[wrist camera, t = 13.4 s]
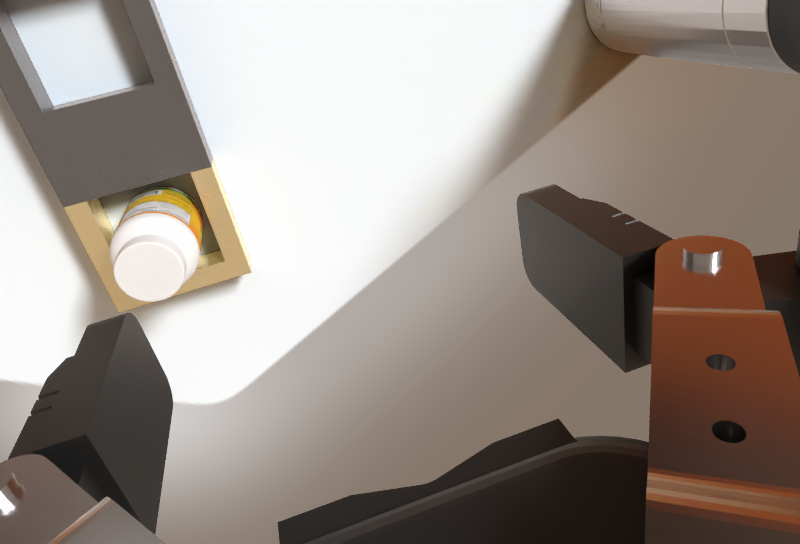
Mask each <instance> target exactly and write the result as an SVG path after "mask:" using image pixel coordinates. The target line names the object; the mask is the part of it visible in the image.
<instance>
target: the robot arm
mask: <svg viewBox="0 0 800 544" xmlns="http://www.w3.org/2000/svg"><path fill="white" fill-rule="evenodd" d="M585 9H586V16H587V19H588V22H589V25H590V28H591V29H592V31H593V33H594V34H595V36H596V38H598V39H599V40H600V41H601V42H602V43H603V44H604V45H605V46H607V47H609V48H611V49H612V50H616V51H620V52H626V53H634V54H642V55H649V56H655V57H664V58H672V59H680V60H688V61H696V62H704V63H712V64H720V65H729V66H737V67H744V68H753V69H762V70H771V71H779V72H787V73H795V74H800V0H585ZM517 211H518V221H519V230H520V237H521V247H522V255H523V263H524V267H525V271H526V274H527V276H528V278H529V280H530V282H531V284H532V285H533V287H534V288H535V289H536V290H537V291H538V292H539V293H541V294H542V295H543V296H544V297H545V298H546V299H547V300H548V301H549V302H550V303H551V304H552V305H553V306H555V307H556V308H557V309H558V310H559V311H560V312H561V313H562V314H563V315H564V316H565V317H566V318H567V319H568V320H570V322H572V323H573V324H574V325H575V326H576V327H577V328H578V329H579V330H580V331H581V332H582V333H583V334H584V335H585V336H587V337H588V338H589V339H590V340H591V341H592V342H593V343H594V344H595V345H596V346H597V347H598V348H599V349H600V350H602V351H603V352H604V353H605V354H606V355H607V356H608V357H609V358H610V359H611V360H612V361H613V362H614V363H615V364H617V365H618V366H619V367H620V368H621V369H622V370H623V371H624V372H625V373H626V372H629V371H631V370H634V369H637V368H640V367H643V366H645V365H648V364H651V385H650V415H649V442H646V441H641V440H637V439H630V438H623V437H612V436H589V437H588V436H586V437H576V438H573V436H572V435H571V434H570V433H569V431H568V430H567V429H566V427H565V426H564V425H563V424H562V422H561V421H560V420H559V419H556V420H553V421H551V422H548V423H546V424H543V425H540V426H537V427H535V428H532V429H529V430H526V431H524V432H521V433H518V434H516V435H513V436H511V437H508V438H505V439H502V440H499V441H497V442H494V443H492V444H491V445H489V446H488V447H486V448H484V449H483V450H481V451H480V452H478V453H477V454H475V455H474V456H472V457H470V458H469V459H467V460H466V461H464V462H463V463H461V464H459V465H458V466H456V467H455V468H453V469H452V470H450V471H448V472H447V473H445V474H444V475H442V476H441V477H439V478H438V479H436V480H434V481H432V482H430V483H427V484H423V485H417V486H410V487H404V488H397V489H391V490H384V491H377V492H371V493H364V494H357V495H351V496H348V497H345V498H342V499H340V500H337V501H334V502H332V503H329V504H326V505H323V506H321V507H318V508H315V509H313V510H310V511H308V512H305V513H302V514H299V515H297V516H294V517H291V518H288V519H286V520H283V521H280V522H278V529H279V541H280V544H800V231H799V238H798V246H797V251H790V252H783V253H775V254H767V255H760V256H753V255H752V253H751V251H750V250H749V249H748V248H747V247H746V246H745V245H743V244H741V243H739V242H737V241H734V240H732V239H728V238H724V237H718V236H709V235H695V236H685V237H680V238H677V239H672V238H670V237H668V236H667V235H665V234H663V233H661V232H659V231H657V230H655V229H653V228H651V227H649V226H648V225H646V224H644V223H642V222H640V221H637V222H636V219H635V218H633V217H631V216H629V215H627V214H623V213H622V212H621V211H620V210H618V209H616V208H614V207H612V206H610V205H608V204H606V203H602V202H598V201H593V200H588V199H580V198H578V197H576V196H575V195H573V194H571V193H569V192H567V191H565V190H564V189H562V188H560V187H558V186H557V185H550V186H546V187H543V188H540V189H536V190H533V191H530V192H527V193H524V194H520V195H519V197H518V199H517ZM38 397H39V400H37V401H36V403H35V404H34V407H33V409H32V411H31V416H29V417H28V419H27V421H26V423H25V425H24V427H23V429H22V431H21V433H20V435H19V437H18V439H17V442H16V444H15V446H14V448H13V450H12V452H11V454H10V456H9V458H8V460H6V461H3V462H1V463H0V544H165V543H164V542H163V541H162V540H160V539H159V538H158V537H157V536H156V535H155V531H156V524H157V517H158V510H159V503H160V496H161V488H162V481H163V474H164V467H165V460H166V453H167V446H168V438H169V430H170V424H171V416H172V409H173V399H172V393H171V389H170V385H169V382H168V380H167V377H166V375H165V373H164V371H163V369H162V367H161V365H160V363H159V361H158V359H157V357H156V355H155V353H154V351H153V349H152V347H151V345H150V343H149V341H148V339H147V337H146V335H145V333H144V332H143V330H142V328H141V326H140V324H139V322H138V320H137V319H136V318H135V316H134V315H132V314H131V313H127V314H123V315H120V316H117V317H114V318H110V319H107V320H104V321H100V322H97V323H94V324H91V325H89V326H87V328H86V330H85V333H84V335H83V337H82V339H81V342H80V344H79V346H78V348H77V351H76V353H75V355H74V356H72V357H69V358H66V359H65V360H64V361H63V362H62V363H61V365H60V366H59V367H58V368H57V369H56V370H55V371H54V372H53V373H52V374H51V375H50V376H49V377H48V378H47V380H46V382H45V384H44V386H43V388H42V390H41V392H40V394H39V396H38Z"/></svg>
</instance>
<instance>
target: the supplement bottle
mask: <svg viewBox="0 0 800 544" xmlns="http://www.w3.org/2000/svg"><path fill="white" fill-rule="evenodd" d="M202 232H203V218H202V214H201V211H200V209H199V207H198V205H197V204H196V202H195V201H194V200H193V199H192V198H191V197H190V196H188V195H187V194H185V193H184V192H182V191H180V190H178V189H175V188H171V187H153V188H149V189H146V190H144V191H142V192H140V193H139V194H137V195H136V196H135V197H134V198H133V199H132V200H131V202H130V203H129V205H128V207H127V209H126V211H125V213H124V215H123V217H122V219H121V221H120V223H119V225H118V227H117V229H116V231H115V233H114V235H113V238H112V240H111V244H110V260H111V263H112V266H113V268H114V271H113V272H114V277H115V280H116V283H117V284H118V286H119V287H120V288H121V290H122V291H123V292H125V293H126V294H127V295H129V296H130V297H132V298H134V299H137V300H140V301H145V302H156V301H161V300H164V299H167V298H169V297H171V296H172V295H174V294H175V293H176V292H177V291H178V290H179V289H180V287H181V286H182V285H183V284H184V283H186V282H187V281H188V280H189V279H190V278H191V276H192V275H193V274H194V272H195V270H196V268H197V266H198V262H199V257H200V249H201V241H202Z"/></svg>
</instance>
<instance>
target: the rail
mask: <svg viewBox="0 0 800 544" xmlns="http://www.w3.org/2000/svg"><path fill="white" fill-rule="evenodd" d="M122 2H123V4H124V7H125V9H126V12H127V14H128V17H129V19H130V22H131V24H132V27H133V29H134V32H135V35H136V37H137V40H138V42H139V45H140V47H141V50H142V52H143V55H144V57H145V60H146V62H147V65H148V67H149V70H150V72H151V75H152V77H153V80H154V81H153V82H149V83H145V84H141V85H137V86H133V87H129V88H125V89H121V90H117V91H113V92H109V93H105V94H101V95H97V96H93V97H89V98H85V99H81V100H77V101H73V102H69V103H65V104H61V105H57V106H53V105H52V103H51V101H50V99H49V97H48V95H47V92H46V90H45V88H44V86H43V84H42V82H41V80H40V78H39V76H38V74H37V72H36V70H35V68H34V66H33V64H32V62H31V60H30V58H29V56H28V53H27V51H26V49H25V47H24V45H23V43H22V41H21V39H20V37H19V35H18V33H17V31H16V29H15V27H14V25H13V23H12V21H11V19H10V16H9V14H8V12H7V10H6V8H5V6H4V4H3V2H2V0H0V86H1V88H2V90H3V92H4V94H5V96H6V98H7V100H8V102H9V104H10V106H11V108H12V109H13V111H14V113H15V115H16V117H17V119H18V121H19V123H20V125H21V127H22V129H23V131H24V132H25V134H26V136H27V138H28V140H29V142H30V144H31V146H32V148H33V150H34V152H35V154H36V155H37V157H38V159H39V161H40V163H41V165H42V167H43V169H44V171H45V173H46V175H47V177H48V178H49V180H50V182H51V184H52V186H53V188H54V190H55V192H56V194H57V196H58V198H59V200H60V201H61V203H62V205H63V207H64V209H65V211H66V213H67V215H68V217H69V219H70V221H71V223H72V224H73V226H74V228H75V230H76V232H77V234H78V236H79V238H80V240H81V242H82V244H83V246H84V247H85V249H86V251H87V253H88V255H89V257H90V259H91V261H92V263H93V265H94V267H95V269H96V270H97V272H98V274H99V276H100V278H101V280H102V282H103V284H104V286H105V288H106V290H107V292H108V294H109V295H110V297H111V299H112V301H113V303H114V305H115V307H116V309H117V311H118V313H119V312H123V311H126V310H129V309H133V308H136V307H139V306H142V305H146V304H149V303H152V302H145V301H140V300H137V299H134V298H132V297H130V296H129V295H127V294H126V293H125V292H123V291H122V290H121V288H120V287H119V286H118V284H117V283H116V280H115V277H114V272H113V271H114V268H113V266H112V263H111V260H110V244H111V240H112V238H113V235H114V233H115V232H114V230H113V228H112V226H111V224H110V222H109V220H108V218H107V216H106V214H105V212H104V210H103V207H102V205H101V203H100V201H99V199H98V198H100V197H104V196H108V195H111V194H115V193H118V192H122V191H126V190H129V189H133V188H137V187H140V186H144V185H148V184H151V183H155V182H159V181H162V180H166V179H169V178H173V177H177V176H180V175H184V174H188V173H191V176H192V178H193V181H194V183H195V186H196V189H197V191H198V194H199V196H200V199H201V201H202V204H203V206H204V209H205V211H206V214H207V216H208V219H209V221H210V224H211V226H212V229H213V231H214V234H215V236H216V239H217V242H218V244H219V247H220V249H221V250H219V251H215V252H212V253H209V254H205V255H202V256H200V257H199V262H198V266H197V268H196V270H195V272H194V274H193V275H192V276H191V278H190V279H189V280H188V281H187V282H186V283H184V284H183V285H182V286H181V287H180V289H179V290H178V291H177V292H176V293H175V294H174V295H172V296H175V295H179V294H182V293H185V292H189V291H192V290H195V289H198V288H202V287H205V286H208V285H212V284H215V283H218V282H221V281H225V280H228V279H231V278H235V277H238V276H241V275H245V274H248V273H251V261H250V257H249V254H248V252H247V249H246V246H245V244H244V241H243V238H242V236H241V233H240V230H239V228H238V225H237V222H236V220H235V217H234V214H233V211H232V209H231V206H230V203H229V201H228V198H227V195H226V193H225V190H224V187H223V185H222V182H221V179H220V176H219V174H218V171H217V168H216V166H215V163H214V160H213V158H212V155H211V152H210V150H209V147H208V144H207V142H206V139H205V136H204V133H203V131H202V128H201V125H200V123H199V120H198V117H197V115H196V112H195V109H194V107H193V104H192V101H191V99H190V96H189V93H188V90H187V88H186V85H185V82H184V80H183V77H182V74H181V72H180V69H179V66H178V64H177V61H176V58H175V56H174V53H173V50H172V47H171V45H170V42H169V39H168V37H167V34H166V31H165V29H164V26H163V23H162V21H161V18H160V15H159V12H158V10H157V7H156V4H155V2H154V0H122ZM172 296H171V297H172Z"/></svg>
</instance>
